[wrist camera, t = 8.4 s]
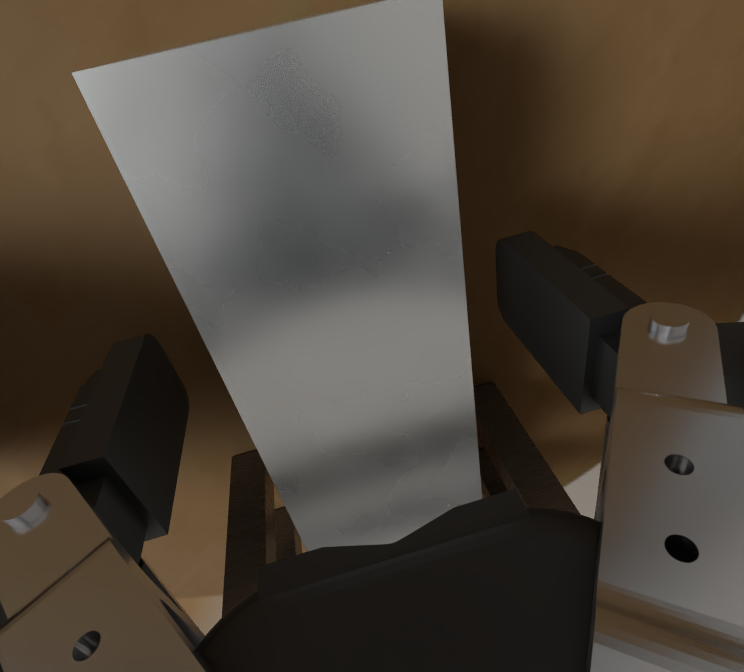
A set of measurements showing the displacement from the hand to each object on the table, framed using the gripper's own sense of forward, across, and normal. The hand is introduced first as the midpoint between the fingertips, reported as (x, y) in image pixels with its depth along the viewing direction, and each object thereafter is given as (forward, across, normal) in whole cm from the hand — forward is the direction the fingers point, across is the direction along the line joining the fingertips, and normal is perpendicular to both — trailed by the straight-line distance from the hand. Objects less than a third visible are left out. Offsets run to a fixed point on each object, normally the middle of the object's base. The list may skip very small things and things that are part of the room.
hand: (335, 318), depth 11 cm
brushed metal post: (+3, 0, +3) cm, 5 cm away
